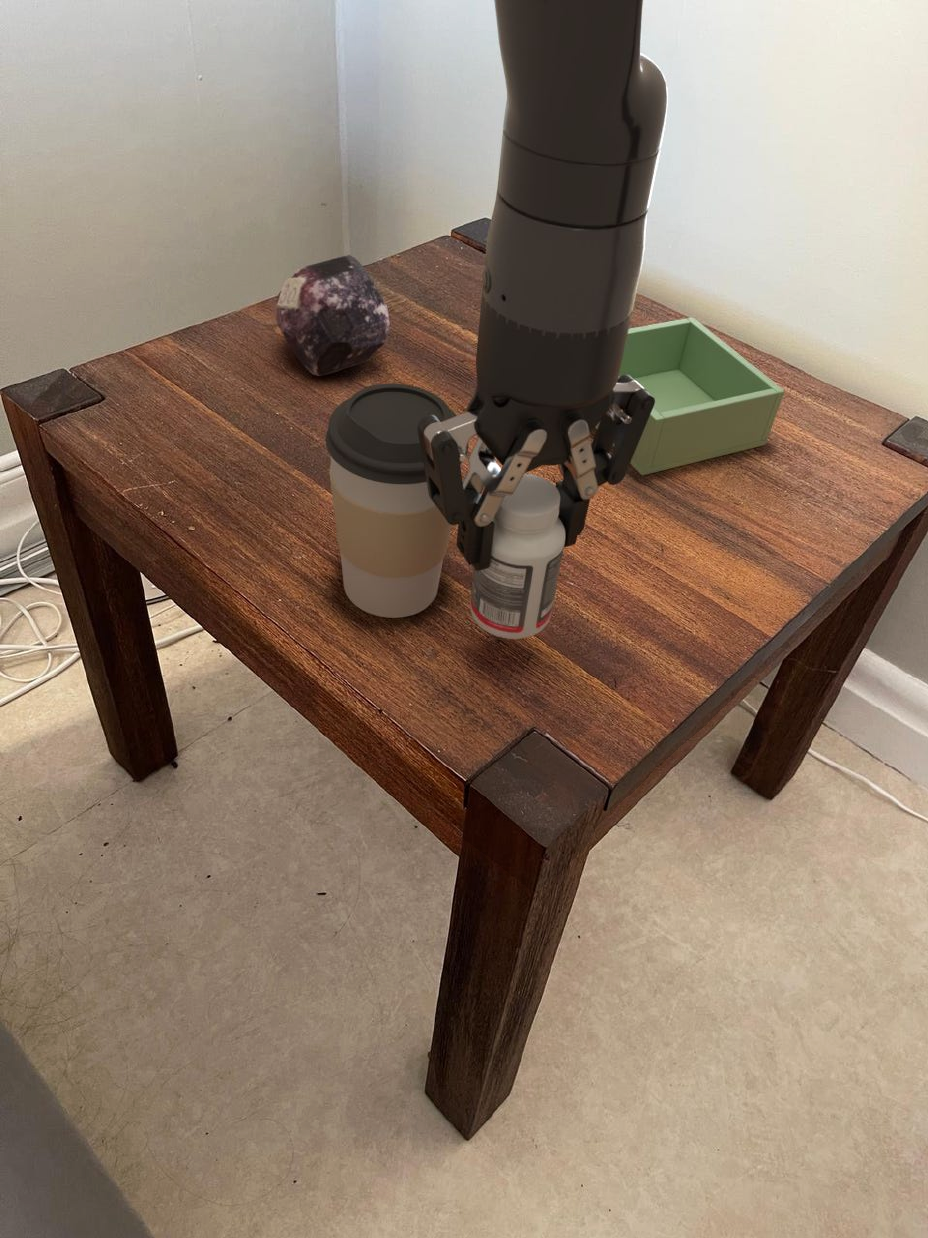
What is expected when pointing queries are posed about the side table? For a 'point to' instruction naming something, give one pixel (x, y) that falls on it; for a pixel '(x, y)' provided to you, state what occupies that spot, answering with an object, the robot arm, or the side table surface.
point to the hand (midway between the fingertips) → (519, 548)
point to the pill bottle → (521, 563)
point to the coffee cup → (386, 499)
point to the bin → (696, 396)
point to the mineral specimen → (332, 315)
